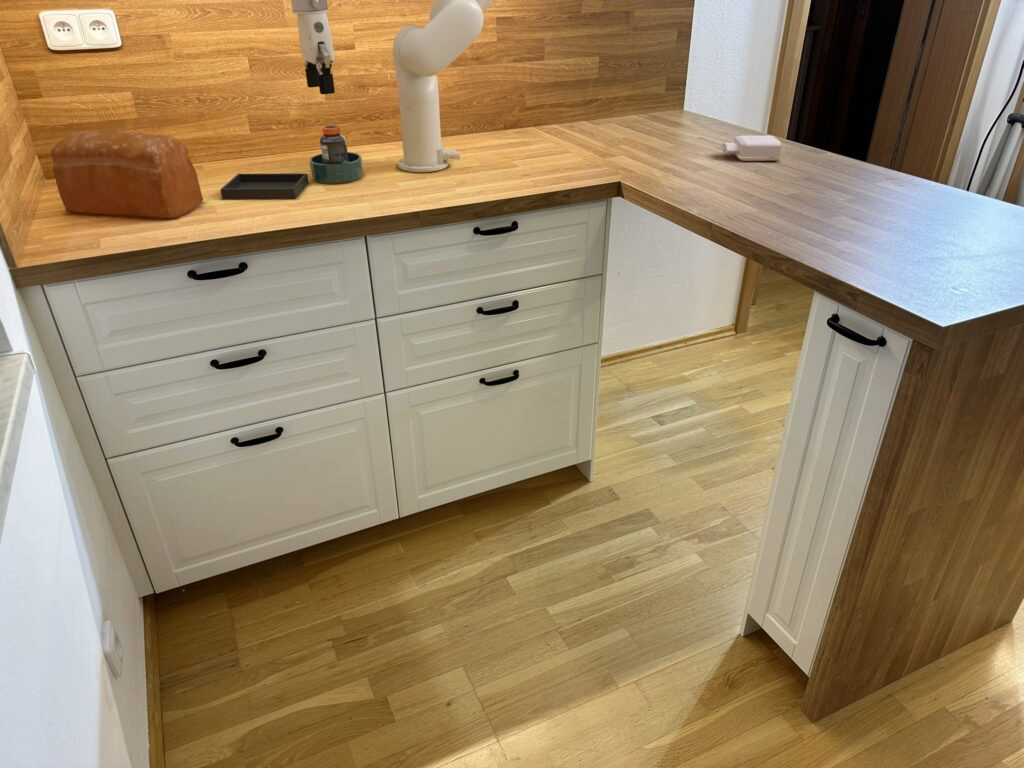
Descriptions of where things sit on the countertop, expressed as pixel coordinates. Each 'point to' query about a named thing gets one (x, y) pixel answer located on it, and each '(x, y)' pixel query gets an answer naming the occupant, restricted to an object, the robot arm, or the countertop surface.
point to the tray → (265, 186)
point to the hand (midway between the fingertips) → (321, 90)
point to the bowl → (336, 169)
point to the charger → (753, 148)
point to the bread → (125, 174)
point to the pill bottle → (333, 146)
